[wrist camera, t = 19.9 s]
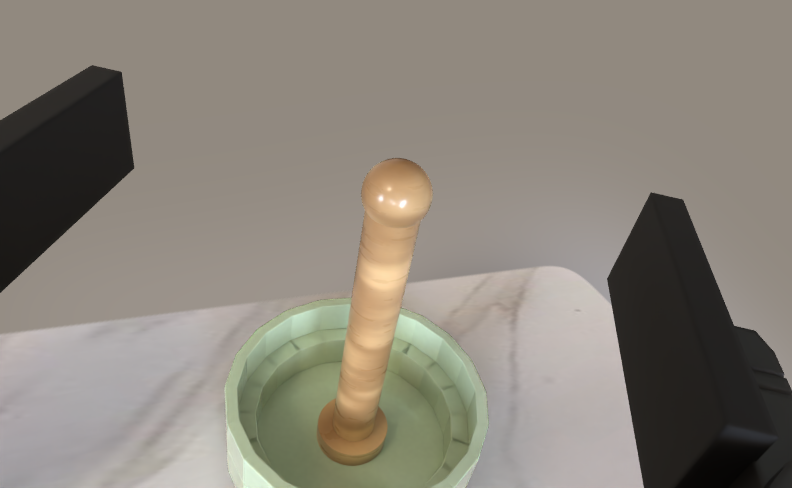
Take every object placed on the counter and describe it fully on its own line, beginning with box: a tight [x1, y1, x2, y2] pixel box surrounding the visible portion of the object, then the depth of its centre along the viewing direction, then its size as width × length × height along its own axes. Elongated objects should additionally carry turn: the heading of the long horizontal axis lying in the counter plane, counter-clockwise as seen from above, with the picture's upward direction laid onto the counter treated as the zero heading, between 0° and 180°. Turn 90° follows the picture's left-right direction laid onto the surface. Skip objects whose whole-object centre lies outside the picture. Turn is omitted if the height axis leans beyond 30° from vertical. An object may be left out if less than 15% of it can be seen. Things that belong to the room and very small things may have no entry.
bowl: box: [225, 298, 489, 488], centre depth 37 cm, size 15×15×6 cm
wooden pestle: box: [317, 158, 433, 466], centre depth 32 cm, size 4×4×20 cm
